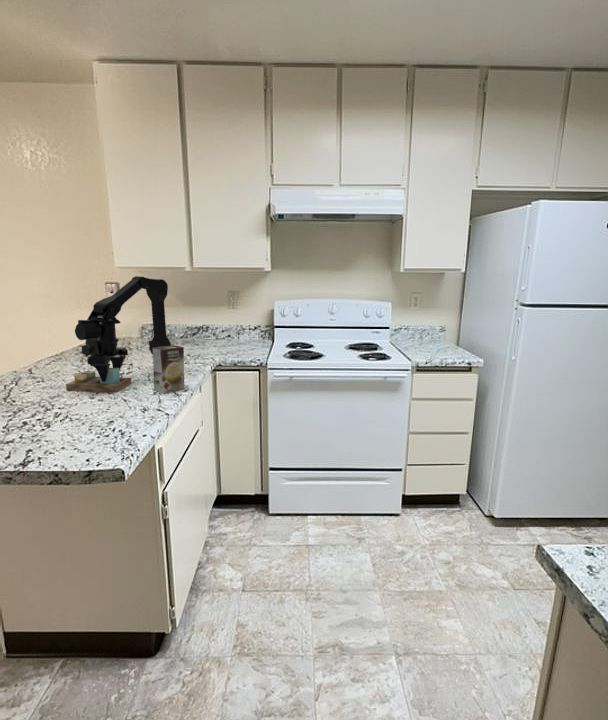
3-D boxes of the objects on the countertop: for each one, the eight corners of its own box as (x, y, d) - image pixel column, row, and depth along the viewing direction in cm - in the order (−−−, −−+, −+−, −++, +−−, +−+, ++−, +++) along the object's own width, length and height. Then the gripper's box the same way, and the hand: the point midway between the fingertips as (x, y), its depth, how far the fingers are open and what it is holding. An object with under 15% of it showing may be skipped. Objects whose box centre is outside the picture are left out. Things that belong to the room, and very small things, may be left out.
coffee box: (163, 394, 145) (161, 349, 141) (153, 390, 149) (151, 347, 145) (185, 389, 152) (184, 346, 148) (175, 385, 156) (174, 344, 152)
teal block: (120, 383, 153) (119, 367, 152) (113, 387, 148) (112, 371, 147) (107, 382, 153) (106, 367, 152) (100, 386, 148) (99, 370, 147)
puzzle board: (131, 383, 156) (130, 371, 155) (116, 392, 145) (115, 379, 144) (85, 382, 157) (83, 369, 156) (66, 390, 145) (65, 377, 144)
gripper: (98, 332, 156) (101, 371, 159) (70, 340, 138) (74, 384, 141) (127, 333, 156) (129, 372, 159) (102, 341, 137) (105, 385, 141)
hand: (110, 378), depth 150 cm, fingers open, 9 cm apart
